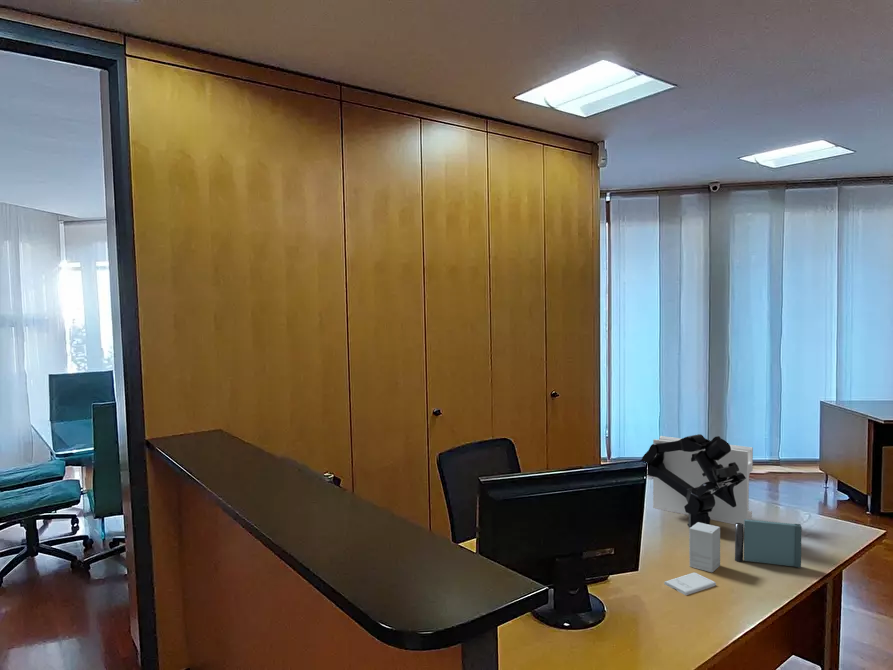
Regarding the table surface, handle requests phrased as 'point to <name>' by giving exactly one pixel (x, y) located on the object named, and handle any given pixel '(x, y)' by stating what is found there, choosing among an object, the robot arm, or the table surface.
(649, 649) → the table surface
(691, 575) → the external hard drive
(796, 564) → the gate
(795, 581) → the table surface
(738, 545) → the gate post
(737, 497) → the block
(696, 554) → the supplement box
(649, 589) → the table surface
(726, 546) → the table surface
